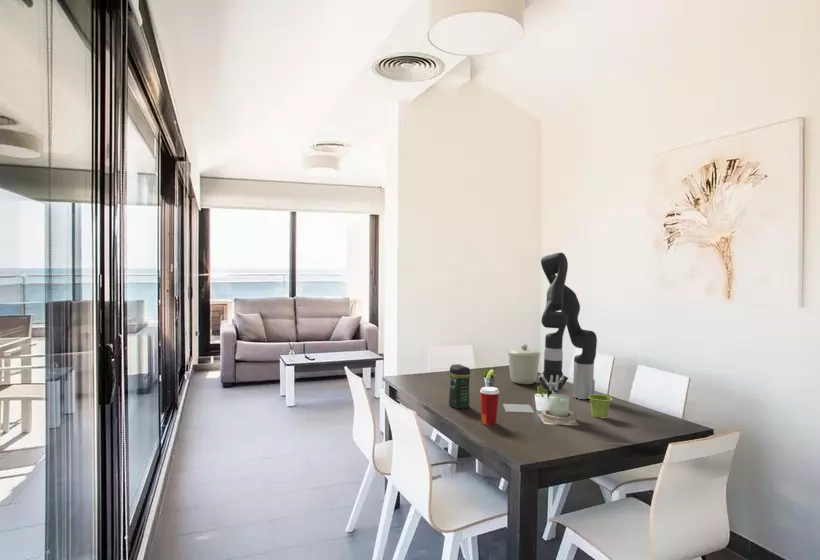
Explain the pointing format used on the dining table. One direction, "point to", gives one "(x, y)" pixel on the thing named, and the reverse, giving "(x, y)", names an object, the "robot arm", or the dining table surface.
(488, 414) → the paper cup
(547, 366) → the robot arm
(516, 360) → the canister
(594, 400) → the plant pot
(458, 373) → the coffee jar
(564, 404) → the pitcher
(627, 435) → the dining table surface
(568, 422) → the holder
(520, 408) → the coaster
